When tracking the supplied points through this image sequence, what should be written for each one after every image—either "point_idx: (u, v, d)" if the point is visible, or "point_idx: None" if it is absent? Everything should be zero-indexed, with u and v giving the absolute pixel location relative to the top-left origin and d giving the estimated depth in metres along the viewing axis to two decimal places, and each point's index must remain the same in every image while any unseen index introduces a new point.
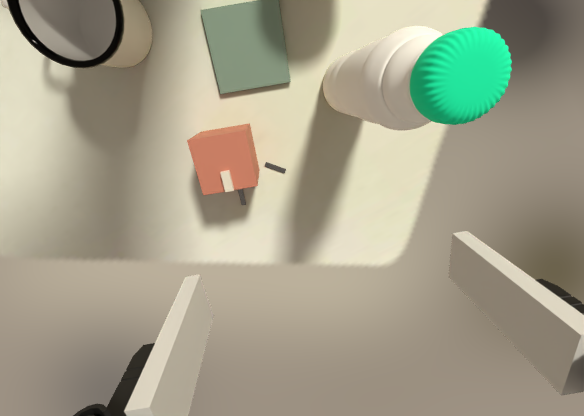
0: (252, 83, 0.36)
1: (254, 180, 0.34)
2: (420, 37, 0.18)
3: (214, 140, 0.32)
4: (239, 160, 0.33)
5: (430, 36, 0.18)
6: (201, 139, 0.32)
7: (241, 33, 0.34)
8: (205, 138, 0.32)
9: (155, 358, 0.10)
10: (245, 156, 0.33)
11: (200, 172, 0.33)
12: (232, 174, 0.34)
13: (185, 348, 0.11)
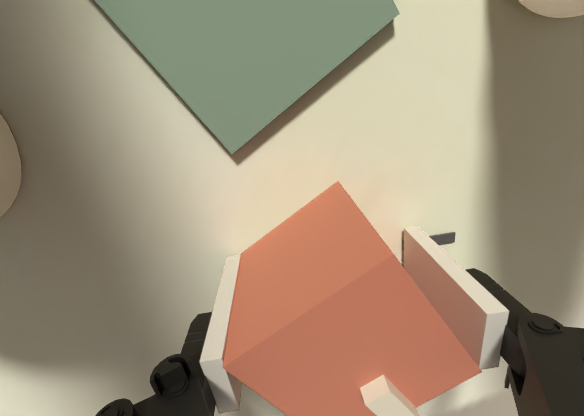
0: (296, 83, 0.12)
1: (469, 363, 0.10)
2: None
3: (303, 329, 0.09)
4: (404, 340, 0.10)
5: None
6: (262, 346, 0.09)
7: None
8: (272, 337, 0.09)
9: (216, 322, 0.11)
10: (420, 322, 0.09)
11: (302, 414, 0.11)
12: (397, 379, 0.10)
13: None
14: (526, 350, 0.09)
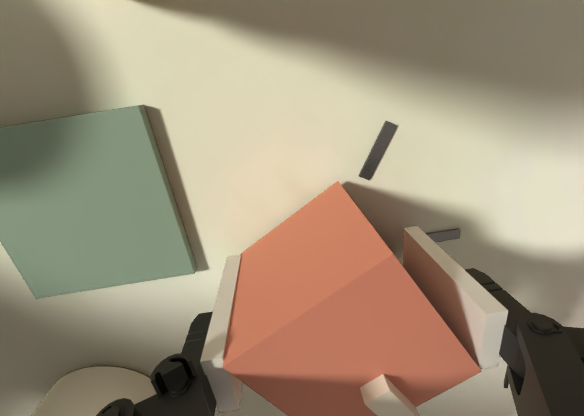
0: (161, 207, 0.14)
1: (468, 363, 0.10)
2: None
3: (302, 328, 0.09)
4: (404, 339, 0.10)
5: None
6: (262, 345, 0.09)
7: (54, 226, 0.14)
8: (272, 337, 0.09)
9: (217, 321, 0.11)
10: (420, 321, 0.09)
11: (302, 414, 0.11)
12: (397, 378, 0.10)
13: None
14: (525, 350, 0.09)
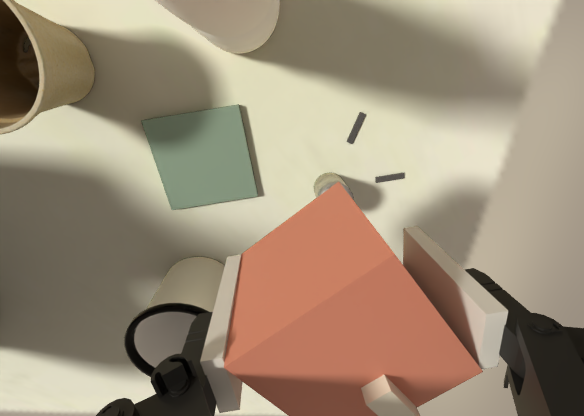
0: (243, 157, 0.28)
1: (470, 363, 0.10)
2: None
3: (304, 329, 0.09)
4: (405, 340, 0.10)
5: None
6: (263, 346, 0.09)
7: (188, 167, 0.28)
8: (274, 337, 0.09)
9: (217, 321, 0.11)
10: (421, 322, 0.09)
11: (303, 414, 0.11)
12: (398, 379, 0.10)
13: None
14: (525, 350, 0.09)
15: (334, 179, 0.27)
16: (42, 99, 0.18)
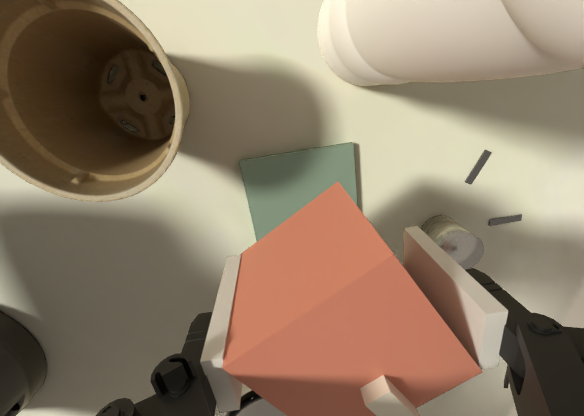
0: None
1: (469, 364, 0.10)
2: None
3: (303, 329, 0.09)
4: (404, 340, 0.10)
5: None
6: (262, 346, 0.09)
7: (286, 213, 0.24)
8: (272, 337, 0.09)
9: (217, 321, 0.11)
10: (420, 322, 0.09)
11: (302, 415, 0.11)
12: (397, 379, 0.10)
13: None
14: (525, 350, 0.09)
15: (457, 228, 0.24)
16: (173, 158, 0.14)
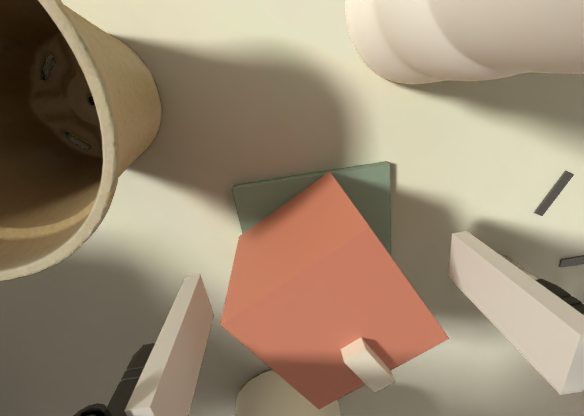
0: (382, 239, 0.18)
1: (437, 330, 0.12)
2: None
3: (291, 291, 0.10)
4: (379, 305, 0.11)
5: None
6: (255, 305, 0.11)
7: None
8: (264, 298, 0.10)
9: (155, 358, 0.10)
10: (393, 289, 0.11)
11: (289, 372, 0.12)
12: (374, 342, 0.12)
13: (185, 348, 0.11)
14: None
15: None
16: (105, 211, 0.08)
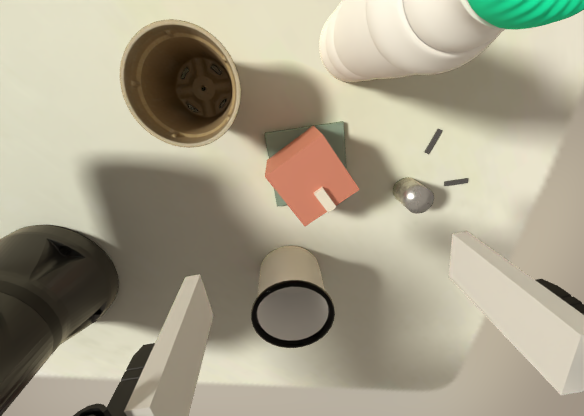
0: None
1: (354, 185, 0.28)
2: None
3: (293, 162, 0.27)
4: (328, 170, 0.27)
5: None
6: (279, 168, 0.27)
7: None
8: (283, 165, 0.27)
9: (155, 358, 0.10)
10: (333, 163, 0.27)
11: (292, 203, 0.28)
12: (327, 189, 0.28)
13: (185, 348, 0.11)
14: None
15: (416, 183, 0.34)
16: (233, 121, 0.24)
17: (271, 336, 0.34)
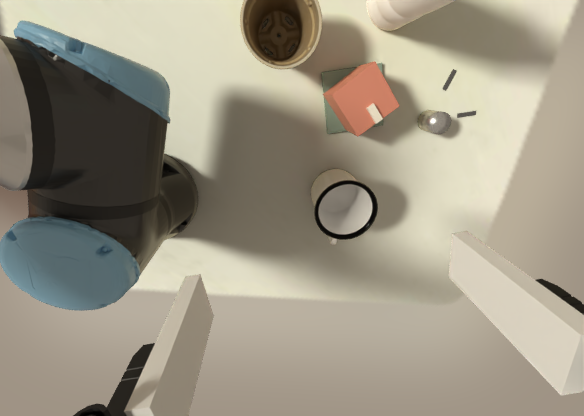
0: None
1: (395, 102, 0.38)
2: None
3: (352, 83, 0.37)
4: (378, 90, 0.37)
5: None
6: (342, 88, 0.37)
7: None
8: (345, 85, 0.37)
9: (155, 358, 0.10)
10: (382, 84, 0.37)
11: (350, 117, 0.38)
12: (376, 105, 0.38)
13: (185, 348, 0.11)
14: None
15: (437, 111, 0.44)
16: (314, 49, 0.34)
17: (327, 230, 0.44)
